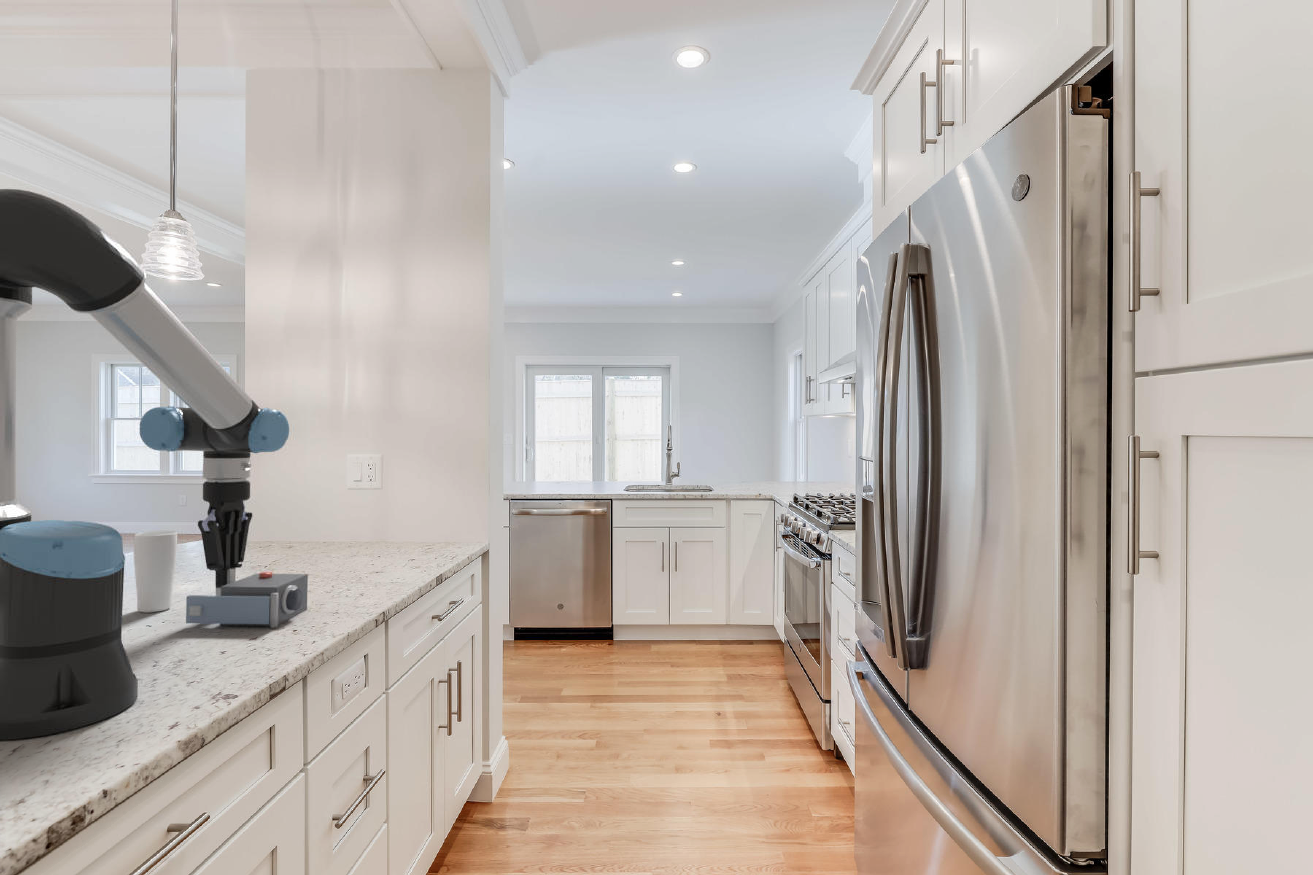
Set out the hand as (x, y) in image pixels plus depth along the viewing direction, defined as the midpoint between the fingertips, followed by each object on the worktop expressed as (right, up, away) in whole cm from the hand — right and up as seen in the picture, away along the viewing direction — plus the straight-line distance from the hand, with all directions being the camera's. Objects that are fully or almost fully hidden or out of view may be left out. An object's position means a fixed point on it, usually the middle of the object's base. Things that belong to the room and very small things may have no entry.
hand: (225, 603), depth 122 cm
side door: (+6, -2, -7) cm, 10 cm away
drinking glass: (-16, -2, +3) cm, 16 cm away
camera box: (+8, -3, 0) cm, 8 cm away
